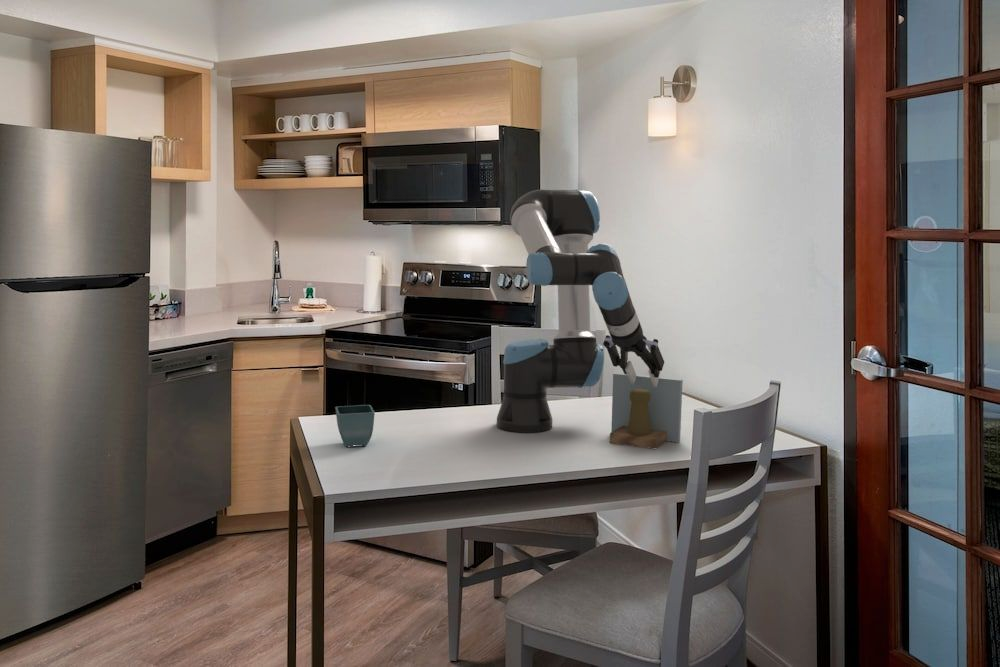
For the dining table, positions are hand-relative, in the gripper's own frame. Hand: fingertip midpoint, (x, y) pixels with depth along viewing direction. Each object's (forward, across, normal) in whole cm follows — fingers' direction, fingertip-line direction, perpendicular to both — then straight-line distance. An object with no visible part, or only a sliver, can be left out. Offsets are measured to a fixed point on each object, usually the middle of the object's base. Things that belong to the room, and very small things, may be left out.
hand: (645, 381), depth 217 cm
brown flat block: (+8, 0, -13) cm, 16 cm away
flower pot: (-21, -59, -41) cm, 75 cm away
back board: (+12, 0, -10) cm, 15 cm away
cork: (+6, 0, -12) cm, 13 cm away
